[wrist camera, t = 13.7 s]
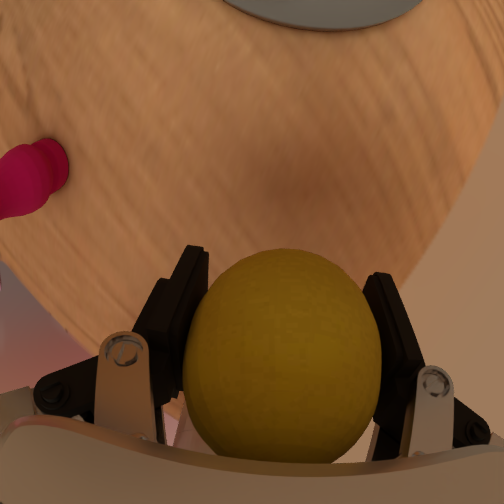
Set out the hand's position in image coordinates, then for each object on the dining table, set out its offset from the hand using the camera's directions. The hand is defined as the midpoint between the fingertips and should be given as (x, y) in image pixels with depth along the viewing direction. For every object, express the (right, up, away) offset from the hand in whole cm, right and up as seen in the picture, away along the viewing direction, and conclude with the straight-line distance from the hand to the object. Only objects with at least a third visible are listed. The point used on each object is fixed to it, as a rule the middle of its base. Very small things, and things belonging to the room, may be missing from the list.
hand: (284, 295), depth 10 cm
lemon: (0, +1, +1) cm, 2 cm away
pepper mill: (-24, +11, +16) cm, 31 cm away
